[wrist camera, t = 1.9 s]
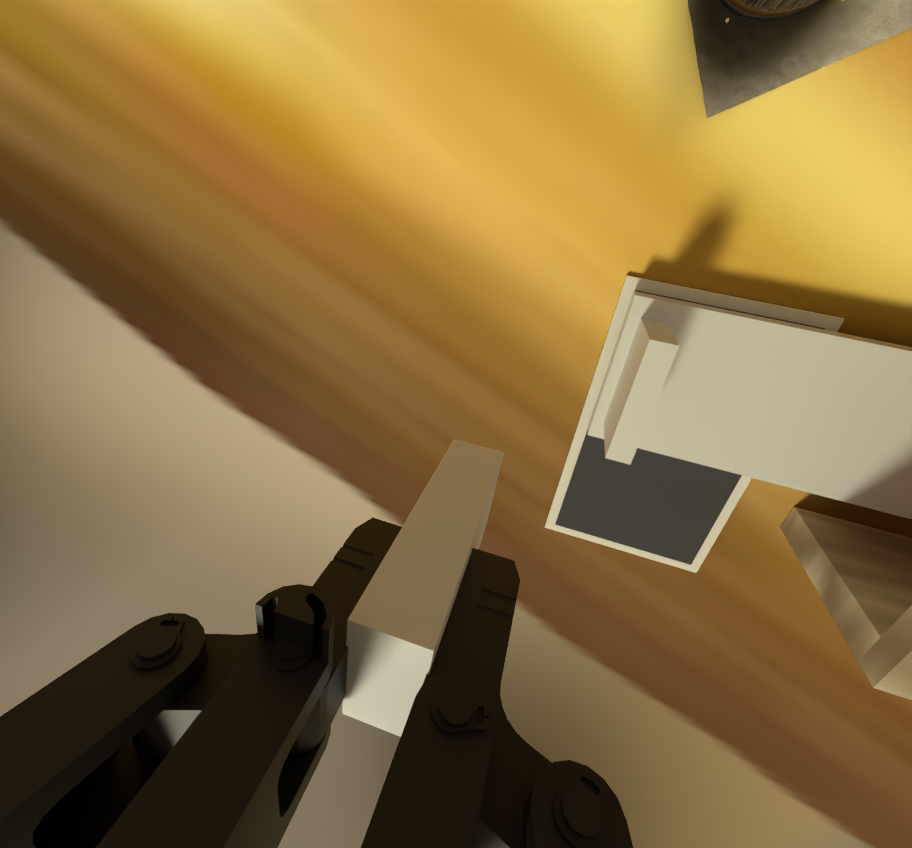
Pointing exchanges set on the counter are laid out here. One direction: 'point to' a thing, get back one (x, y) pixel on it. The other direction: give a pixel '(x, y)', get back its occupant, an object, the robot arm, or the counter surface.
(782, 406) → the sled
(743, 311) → the pad
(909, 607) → the tunnel
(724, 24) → the condiment
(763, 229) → the counter surface
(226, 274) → the counter surface
